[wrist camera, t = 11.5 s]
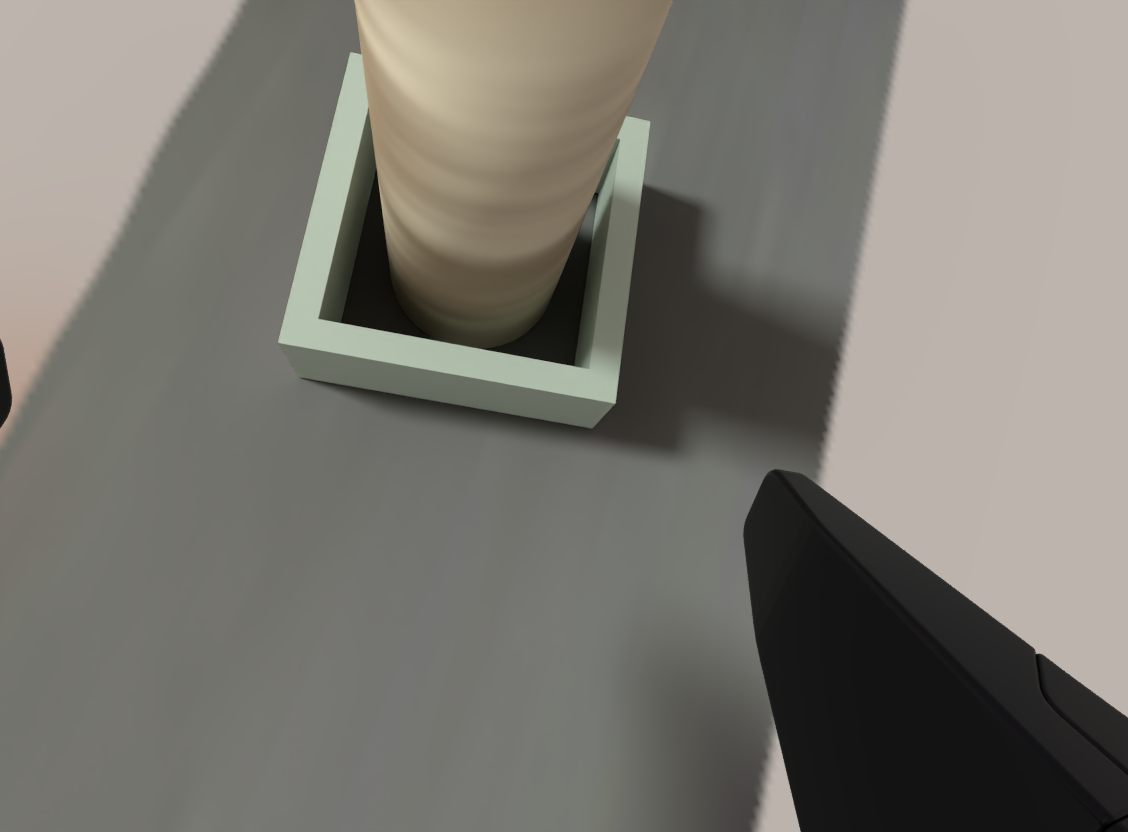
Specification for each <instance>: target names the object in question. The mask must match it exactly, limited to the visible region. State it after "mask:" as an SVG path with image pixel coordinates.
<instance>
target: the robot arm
mask: <svg viewBox="0 0 1128 832" xmlns="http://www.w3.org/2000/svg"><path fill="white" fill-rule="evenodd" d="M11 405H12V394H11V388H10V383H9V376H8V371H7V365H6V359H5V353H4V348H3V344H2V342H1V340H0V428H1V427H2V425H3V424H4V422H5V421H6V419H7V417H8V415H9V412H10V409H11ZM743 537H744V547H745V555H746V564H747V573H748V581H749V590H750V599H751V607H752V616H753V624H754V631H755V638H756V643H757V648H758V653H759V658H760V662H761V666H762V670H763V675H764V679H765V683H766V687H767V692H768V696H769V700H770V704H771V708H772V713H773V717H774V721H775V725H776V729H777V734H778V738H779V742H780V746H781V751H782V755H783V759H784V763H785V767H786V772H787V776H788V780H789V784H790V789H791V793H792V797H793V801H794V805H795V810H796V814H797V818H798V822H799V827H800V831H801V832H1128V718H1127V717H1126V716H1125V715H1123V714H1122V713H1121V712H1119V711H1118V710H1117V709H1115V708H1114V707H1112V706H1111V705H1110V704H1108V703H1107V702H1106V701H1104V700H1103V699H1102V698H1100V697H1099V696H1097V695H1096V694H1095V693H1093V692H1092V691H1091V690H1089V689H1088V688H1087V687H1085V686H1084V685H1083V684H1081V683H1080V682H1078V681H1077V680H1076V679H1074V678H1073V677H1072V676H1070V675H1069V674H1068V673H1066V672H1065V671H1064V670H1062V669H1061V668H1059V667H1058V666H1057V665H1056V664H1054V663H1053V662H1052V661H1050V660H1049V659H1048V658H1046V657H1045V656H1044V655H1042V654H1036V652H1035V649H1034V648H1033V647H1032V646H1030V645H1029V644H1028V643H1026V642H1025V641H1024V640H1022V639H1021V638H1020V637H1018V636H1017V635H1016V634H1014V633H1013V632H1012V631H1010V630H1009V629H1008V628H1006V627H1005V626H1004V625H1002V624H1001V623H999V622H998V621H997V620H996V619H994V618H993V617H992V616H990V615H989V614H988V613H986V612H985V611H984V610H983V609H981V608H980V607H979V606H977V605H976V604H975V603H973V602H972V601H971V600H969V599H968V598H967V597H965V596H964V595H963V594H961V593H960V592H959V591H957V590H956V589H955V588H953V587H952V586H951V585H949V584H948V583H947V582H945V581H944V580H943V579H941V578H940V577H939V576H938V575H936V574H935V573H933V572H932V571H931V570H930V569H928V568H927V567H925V566H924V565H923V564H921V563H920V562H919V561H917V560H916V559H915V558H913V557H912V556H911V555H910V554H908V553H907V552H906V551H904V550H903V549H902V548H900V547H899V546H898V545H896V544H895V543H894V542H892V541H891V540H890V539H888V538H887V537H886V536H884V535H883V534H882V533H880V532H879V531H878V530H877V529H875V528H874V527H873V526H871V525H870V524H868V523H867V522H866V521H865V520H863V519H862V518H861V517H859V516H858V515H857V514H855V513H854V512H853V511H851V510H850V509H849V508H847V507H846V506H845V505H843V504H842V503H841V502H839V501H838V500H837V499H835V498H834V497H833V496H831V495H830V494H829V493H827V492H826V491H825V490H824V489H822V488H821V487H820V486H818V485H817V484H816V483H814V482H813V481H812V480H810V479H809V478H808V477H806V476H805V475H803V474H800V473H795V472H790V471H784V470H778V469H774V470H772V471H770V472H768V474H767V475H766V476H765V478H764V480H763V482H762V484H761V486H760V488H759V491H758V493H757V495H756V497H755V500H754V502H753V504H752V506H751V509H750V511H749V513H748V515H747V518H746V521H745V524H744V533H743Z"/></svg>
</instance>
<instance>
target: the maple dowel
mask: <svg viewBox="0 0 1128 832" xmlns="http://www.w3.org/2000/svg"><path fill="white" fill-rule="evenodd" d="M672 3H673V0H355V7H356V15H357V22H358V30H359V38H360V45H361V53H362V60H363V68H364V76H365V83H366V91H367V98H368V106H369V114H370V121H371V129H372V137H373V144H374V152H375V159H376V167H377V175H378V182H379V190H380V197H381V205H382V213H383V220H384V228H385V235H386V243H387V251H388V258H389V266H390V274H391V281H392V285H393V290H394V293H395V295H396V298H397V300H398V302H399V304H400V306H401V308H402V309H403V311H404V312H405V314H406V315H407V316H408V318H409V319H410V320H411V321H412V322H413V323H414V324H415V325H416V326H417V327H418V328H419V329H421V330H422V331H423V332H424V333H426V334H427V335H429V336H431V337H432V338H434V339H436V340H438V341H440V342H445V343H451V344H456V345H461V346H467V347H472V348H478V349H488V348H493V347H498V346H501V345H504V344H507V343H510V342H512V341H514V340H516V339H518V338H520V337H521V336H522V335H524V334H525V333H527V332H528V331H529V330H530V329H531V328H533V327H534V326H535V325H536V323H537V322H538V321H539V320H540V319H541V317H542V316H543V314H544V313H545V311H546V309H547V307H548V305H549V303H550V300H551V298H552V295H553V293H554V291H555V288H556V286H557V283H558V281H559V278H560V276H561V274H562V271H563V269H564V266H565V264H566V261H567V259H568V256H569V254H570V252H571V249H572V247H573V244H574V242H575V239H576V237H577V235H578V232H579V230H580V227H581V225H582V222H583V220H584V217H585V215H586V213H587V210H588V208H589V205H590V203H591V200H592V198H593V195H594V193H595V191H596V188H597V186H598V183H599V181H600V178H601V176H602V174H603V171H604V169H605V166H606V164H607V161H608V159H609V156H610V154H611V152H612V149H613V147H614V144H615V142H616V139H617V137H618V135H619V132H620V130H621V127H622V125H623V122H624V120H625V117H626V115H627V113H628V110H629V108H630V105H631V103H632V100H633V98H634V95H635V93H636V91H637V88H638V86H639V83H640V81H641V78H642V76H643V74H644V71H645V69H646V66H647V64H648V61H649V59H650V56H651V54H652V52H653V49H654V47H655V44H656V42H657V39H658V37H659V35H660V32H661V30H662V27H663V25H664V22H665V20H666V17H667V15H668V13H669V10H670V8H671V5H672Z"/></svg>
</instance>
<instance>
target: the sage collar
mask: <svg viewBox="0 0 1128 832" xmlns="http://www.w3.org/2000/svg"><path fill="white" fill-rule="evenodd" d="M649 129H650V121H646V120H641V119H637V118H633V117H628V116H626V117H625V120H624V122H623V125H622V127H621V130H620V132H619V135H618V137H617V139H616V142H615V144H614V147H613V149H612V152H611V154H610V156H609V159H608V161H607V164H606V166H605V169H604V171H603V174H602V176H601V178H600V181H599V183H598V186H597V188H596V191H595V193H599V194H598V201H597V208H596V215H595V222H594V229H593V236H592V243H591V251H590V258H589V265H588V272H587V279H586V286H585V293H584V300H583V308H582V315H581V322H580V329H579V336H578V343H577V350H576V357H575V364H574V366H569V365H564V364H558V363H553V362H548V361H542V360H537V359H532V358H526V357H521V356H515V355H510V354H505V353H499V352H494V351H488V350H483V349H478V348H472V347H467V346H461V345H456V344H451V343H445V342H440V341H434V340H429V339H424V338H418V337H413V336H408V335H402V334H397V333H391V332H386V331H381V330H375V329H370V328H364V327H359V326H354V325H348V324H343V323H341V320H342V316H343V312H344V307H345V303H346V298H347V294H348V290H349V285H350V281H351V277H352V272H353V268H354V263H355V259H356V255H357V250H358V246H359V242H360V237H361V233H362V228H363V224H364V220H365V215H366V211H367V207H368V202H369V198H370V193H371V189H372V185H373V180H374V176H375V172H376V159H375V152H374V144H373V137H372V129H371V121H370V114H369V106H368V98H367V91H366V83H365V76H364V68H363V60H362V55H360V54H356V53H350V57H349V61H348V65H347V69H346V73H345V77H344V81H343V85H342V89H341V93H340V97H339V101H338V105H337V109H336V113H335V117H334V121H333V125H332V129H331V133H330V137H329V141H328V145H327V149H326V153H325V157H324V161H323V165H322V169H321V173H320V177H319V181H318V185H317V189H316V193H315V197H314V201H313V205H312V209H311V213H310V217H309V221H308V225H307V229H306V233H305V237H304V241H303V245H302V249H301V253H300V257H299V261H298V265H297V269H296V273H295V277H294V281H293V285H292V289H291V293H290V297H289V301H288V305H287V309H286V313H285V317H284V321H283V325H282V329H281V333H280V337H279V341H278V344H279V345H280V347H281V349H282V350H283V352H284V354H285V355H286V357H287V358H288V360H289V362H290V363H291V365H292V367H293V368H294V370H295V372H296V373H297V375H298V377H301V378H307V379H312V380H318V381H324V382H329V383H335V384H341V385H347V386H352V387H358V388H364V389H369V390H375V391H381V392H386V393H392V394H398V395H404V396H409V397H415V398H421V399H426V400H432V401H438V402H444V403H449V404H455V405H461V406H466V407H472V408H478V409H483V410H489V411H495V412H501V413H506V414H512V415H518V416H523V417H529V418H535V419H541V420H546V421H552V422H558V423H563V424H569V425H575V426H580V427H586V428H593V427H594V426H595V425H596V424H597V423H598V422H599V421H600V420H601V419H602V418H603V416H604V415H605V414H606V413H607V412H608V411H609V410H610V409H611V408H612V407H613V406H614V405H615V403H616V395H617V387H618V379H619V371H620V363H621V355H622V347H623V339H624V330H625V322H626V314H627V306H628V298H629V290H630V282H631V274H632V266H633V258H634V250H635V242H636V234H637V225H638V217H639V209H640V201H641V193H642V185H643V177H644V169H645V161H646V153H647V145H648V137H649Z"/></svg>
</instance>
